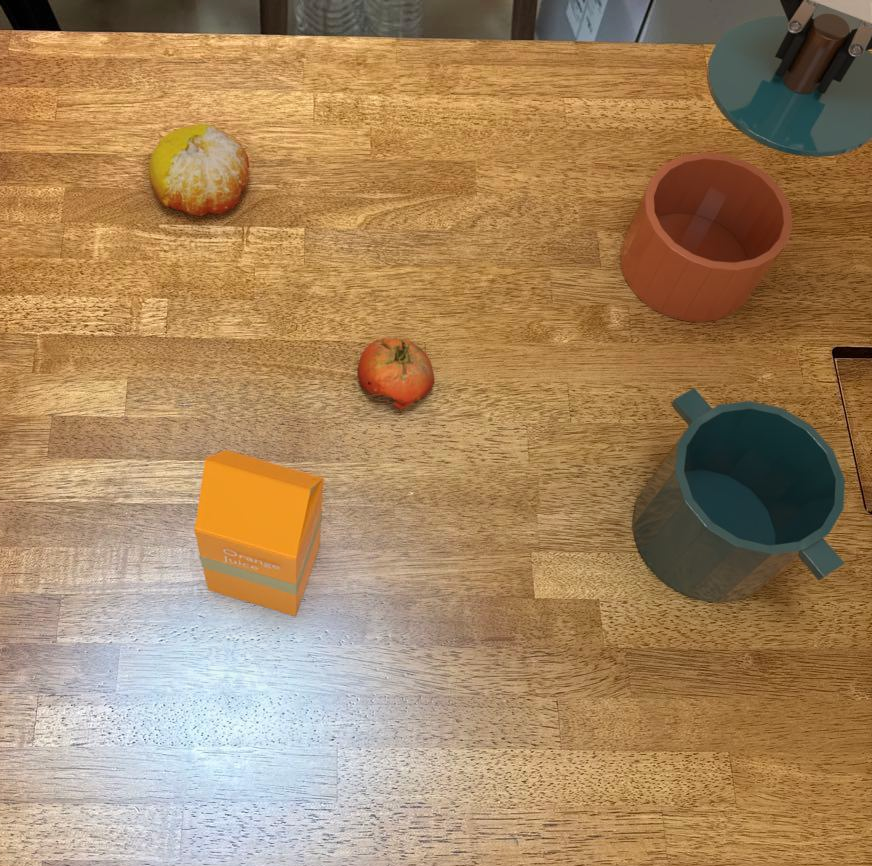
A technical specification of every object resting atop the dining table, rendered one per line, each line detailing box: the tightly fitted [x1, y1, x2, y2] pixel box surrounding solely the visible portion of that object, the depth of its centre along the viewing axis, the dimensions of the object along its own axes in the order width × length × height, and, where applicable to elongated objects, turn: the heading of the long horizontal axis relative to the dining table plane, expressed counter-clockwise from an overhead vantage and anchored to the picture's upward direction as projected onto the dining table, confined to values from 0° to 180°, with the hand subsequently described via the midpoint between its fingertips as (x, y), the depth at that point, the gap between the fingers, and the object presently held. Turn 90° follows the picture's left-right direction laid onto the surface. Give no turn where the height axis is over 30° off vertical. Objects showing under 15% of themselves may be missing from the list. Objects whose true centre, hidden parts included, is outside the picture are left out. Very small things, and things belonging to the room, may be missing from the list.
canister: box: [619, 151, 794, 323], centre depth 108 cm, size 15×15×9 cm
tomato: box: [357, 337, 435, 410], centre depth 104 cm, size 8×7×7 cm
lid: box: [706, 12, 872, 158], centre depth 85 cm, size 16×16×7 cm
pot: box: [632, 387, 846, 603], centre depth 94 cm, size 15×20×12 cm
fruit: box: [147, 123, 250, 217], centre depth 112 cm, size 11×10×8 cm
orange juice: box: [193, 449, 324, 617], centre depth 88 cm, size 8×9×20 cm
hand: (805, 72), depth 86 cm, fingers closed on lid, 3 cm apart
